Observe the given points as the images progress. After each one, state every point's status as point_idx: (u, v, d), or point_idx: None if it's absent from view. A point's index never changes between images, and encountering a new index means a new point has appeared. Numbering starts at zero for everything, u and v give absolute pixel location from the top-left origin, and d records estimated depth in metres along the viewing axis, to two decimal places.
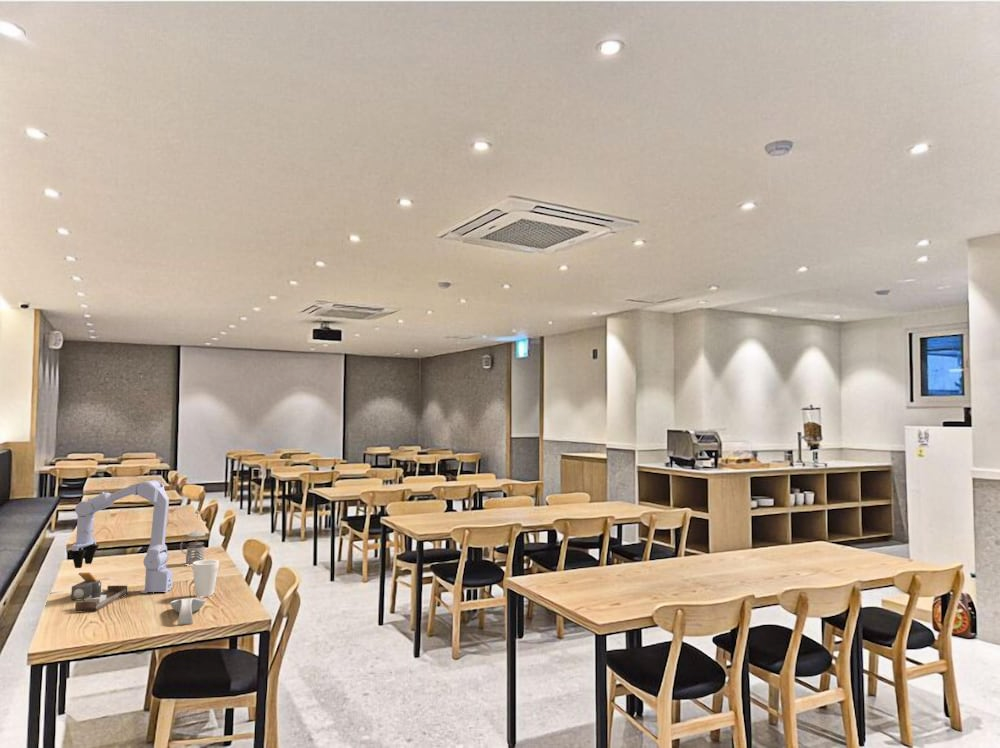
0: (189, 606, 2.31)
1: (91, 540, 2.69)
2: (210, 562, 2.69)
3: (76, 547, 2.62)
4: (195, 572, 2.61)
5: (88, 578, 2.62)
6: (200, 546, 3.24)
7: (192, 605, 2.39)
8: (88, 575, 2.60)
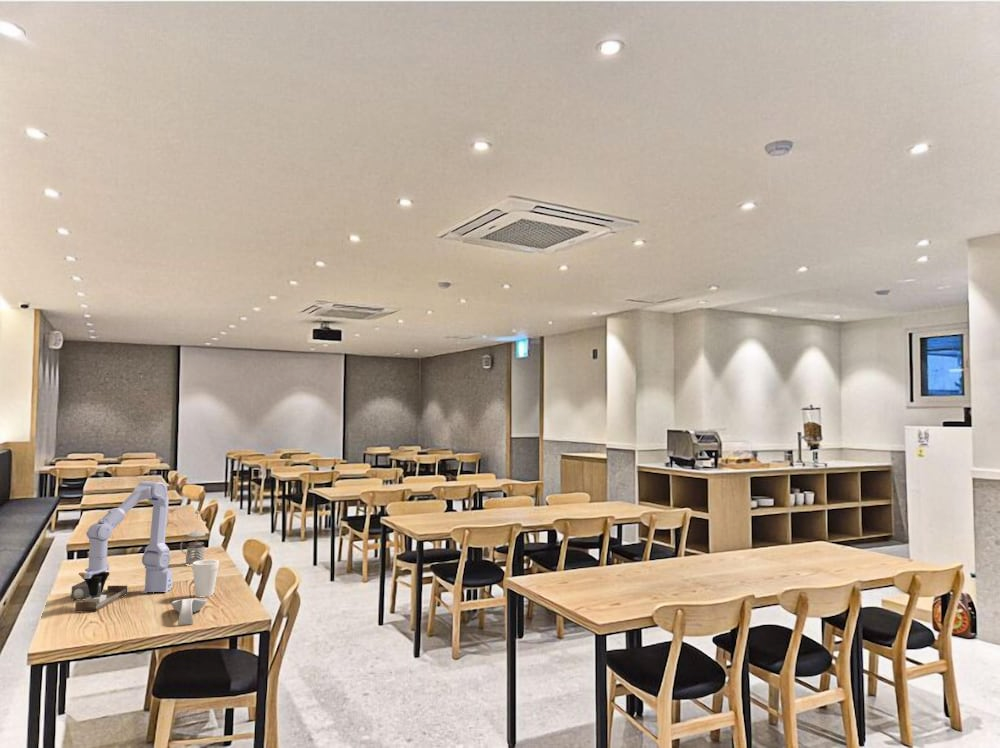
0: (190, 606, 2.30)
1: (104, 566, 2.48)
2: (210, 562, 2.69)
3: (89, 575, 2.41)
4: (195, 572, 2.61)
5: None
6: (200, 546, 3.24)
7: (193, 605, 2.38)
8: None
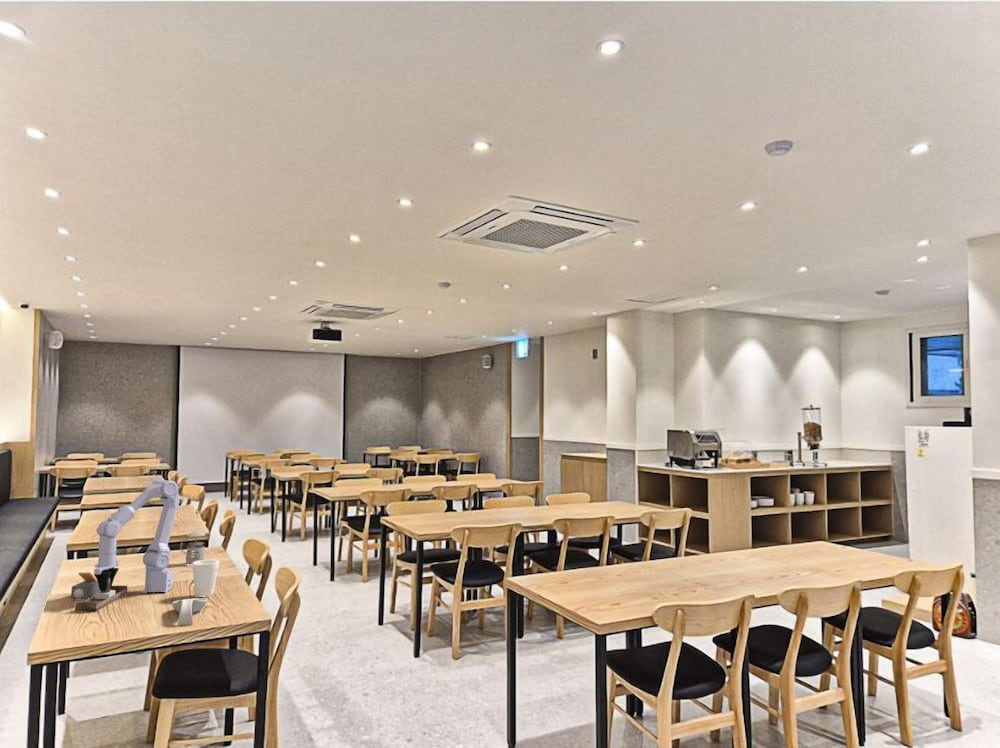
0: (189, 607, 2.30)
1: (114, 562, 2.55)
2: (210, 562, 2.69)
3: (98, 570, 2.48)
4: (195, 572, 2.61)
5: (88, 578, 2.62)
6: (200, 546, 3.24)
7: (193, 606, 2.38)
8: (88, 575, 2.60)
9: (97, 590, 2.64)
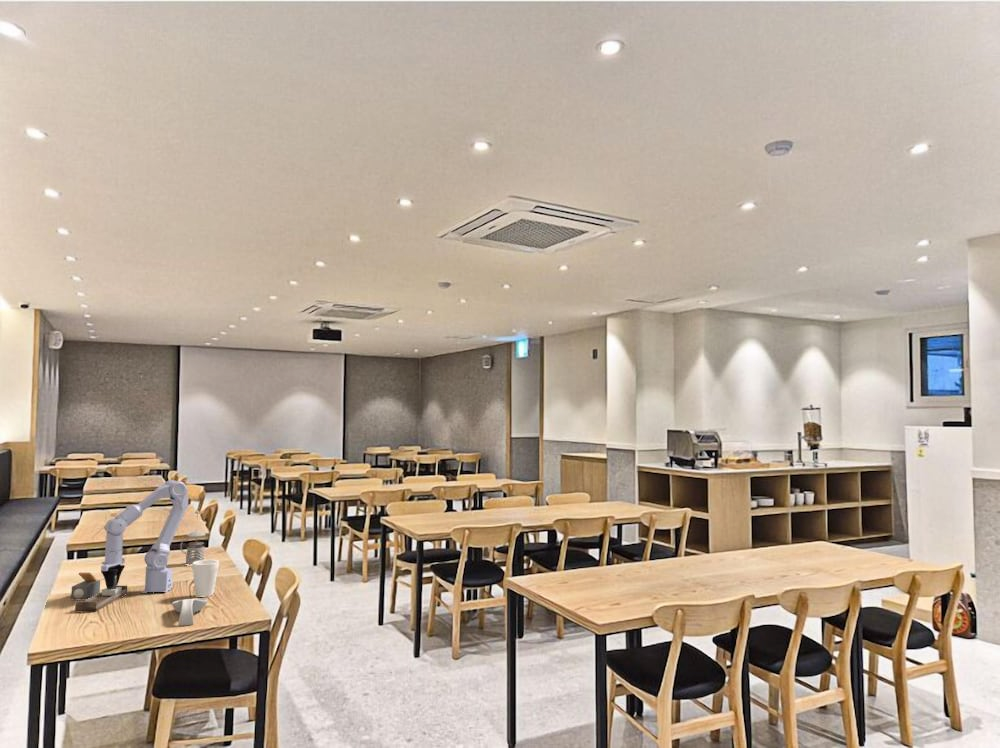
0: (190, 607, 2.30)
1: (120, 560, 2.60)
2: (210, 562, 2.69)
3: (105, 567, 2.53)
4: (195, 572, 2.61)
5: (88, 578, 2.62)
6: (200, 546, 3.24)
7: (193, 606, 2.38)
8: (88, 575, 2.60)
9: (97, 590, 2.64)
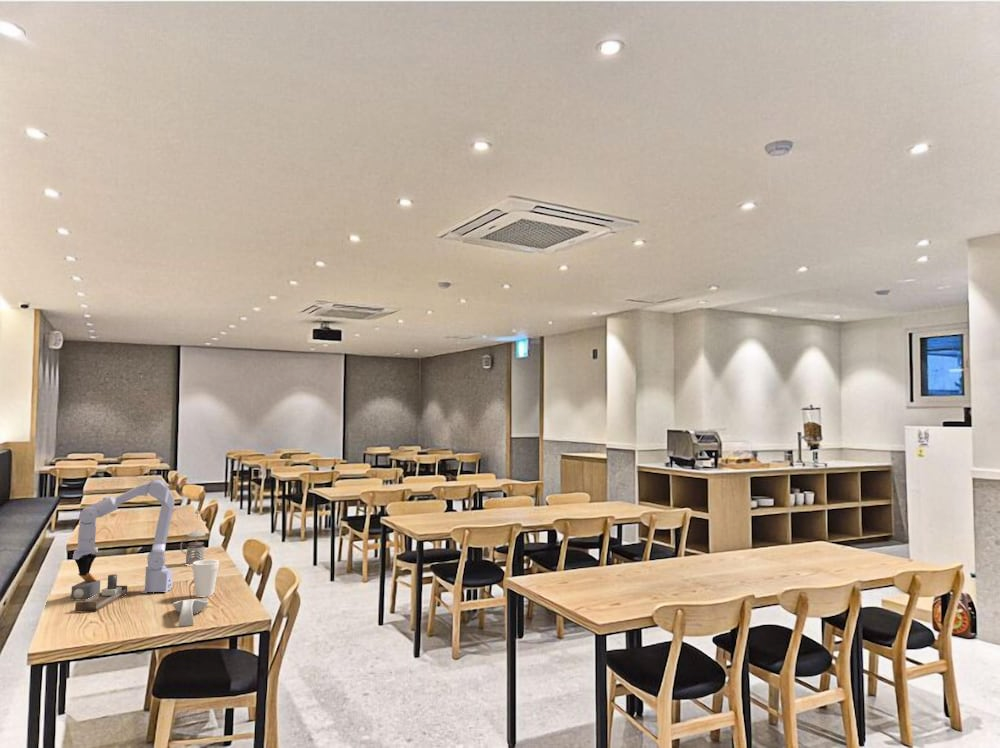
0: (190, 607, 2.29)
1: (93, 548, 2.60)
2: (210, 562, 2.69)
3: (77, 556, 2.53)
4: (195, 572, 2.61)
5: (88, 578, 2.62)
6: (200, 546, 3.24)
7: (194, 606, 2.37)
8: (88, 575, 2.60)
9: (97, 590, 2.64)
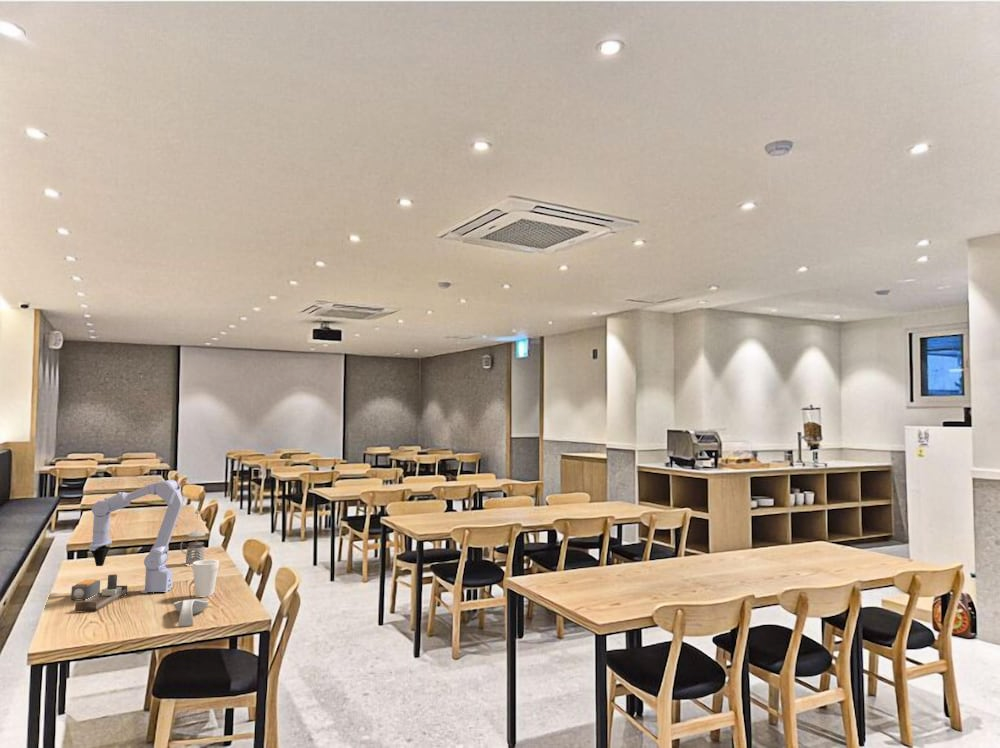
0: (190, 608, 2.29)
1: (107, 540, 2.68)
2: (210, 562, 2.69)
3: (93, 547, 2.61)
4: (195, 572, 2.61)
5: None
6: (200, 546, 3.24)
7: (194, 606, 2.37)
8: None
9: (97, 590, 2.64)
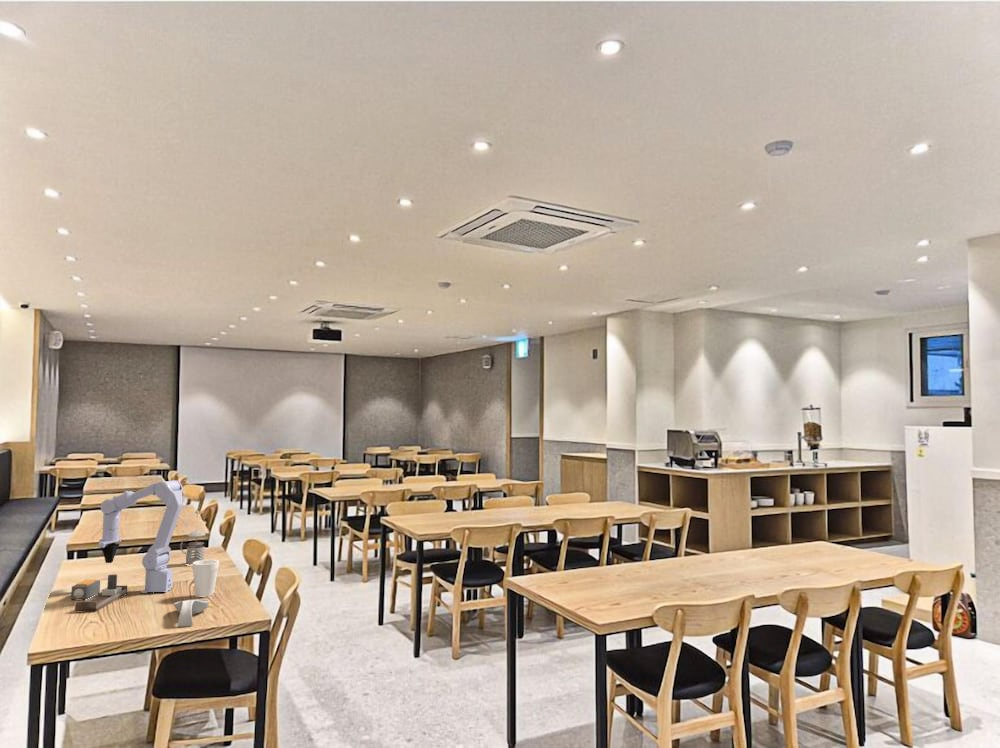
0: (189, 608, 2.28)
1: (117, 537, 2.74)
2: (210, 562, 2.69)
3: (103, 544, 2.67)
4: (195, 572, 2.61)
5: None
6: (200, 546, 3.24)
7: (194, 607, 2.37)
8: None
9: (97, 590, 2.64)
